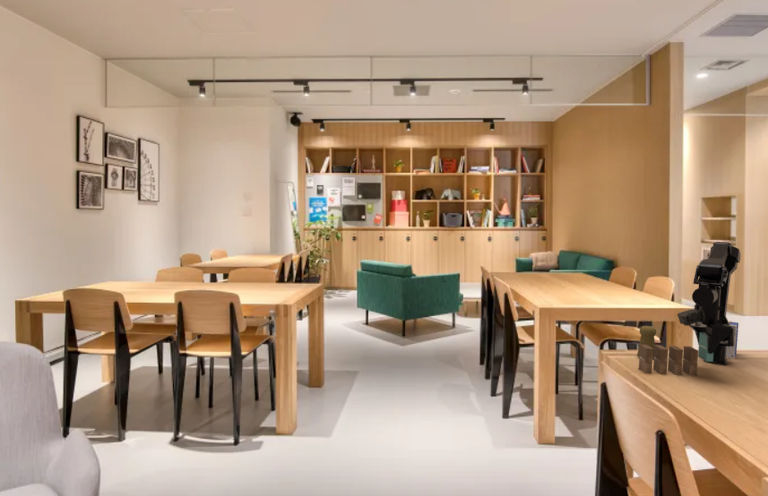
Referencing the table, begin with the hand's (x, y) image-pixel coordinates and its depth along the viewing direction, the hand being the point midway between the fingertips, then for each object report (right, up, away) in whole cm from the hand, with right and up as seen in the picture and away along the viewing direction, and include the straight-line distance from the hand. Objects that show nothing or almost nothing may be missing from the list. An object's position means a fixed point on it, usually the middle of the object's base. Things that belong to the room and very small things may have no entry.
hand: (705, 351), depth 165 cm
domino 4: (-5, -7, +1) cm, 9 cm away
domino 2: (-14, -7, +2) cm, 15 cm away
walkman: (+23, -6, +22) cm, 32 cm away
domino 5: (0, -3, 0) cm, 2 cm away
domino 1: (-18, -7, +2) cm, 19 cm away
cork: (-10, -6, +18) cm, 21 cm away
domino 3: (-9, -7, +1) cm, 12 cm away
